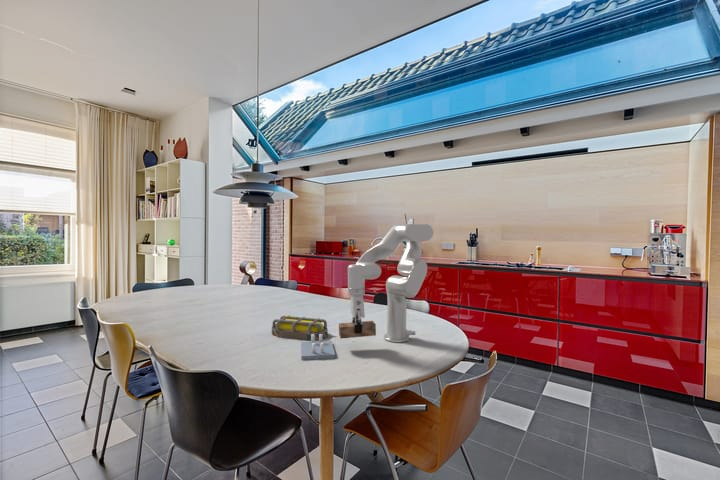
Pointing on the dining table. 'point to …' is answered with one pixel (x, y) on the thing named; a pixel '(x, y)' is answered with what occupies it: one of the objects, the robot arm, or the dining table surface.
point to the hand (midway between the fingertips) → (357, 330)
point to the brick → (349, 329)
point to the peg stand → (317, 349)
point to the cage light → (299, 327)
